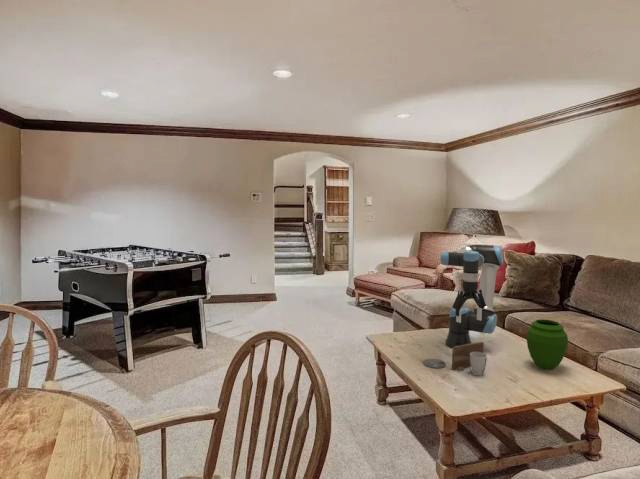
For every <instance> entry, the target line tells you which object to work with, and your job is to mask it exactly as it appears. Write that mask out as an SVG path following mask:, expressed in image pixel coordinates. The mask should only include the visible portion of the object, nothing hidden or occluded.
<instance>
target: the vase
mask: <svg viewBox="0 0 640 479" xmlns="http://www.w3.org/2000/svg"><path fill="white" fill-rule="evenodd" d="M525 336H526V337H525V338H526V344H527V349H528V353H529V356H530V358H531V360H532V361H533V362H534V364H535V366H536V367H538V368H540V369H542V370H548V371H550V370H551V371H552V370H555V369H556V368H557V367H558V366H559V365H560V364H561V363H562V361H563V359H564V357H565V356H566V353H567V350H568V349H567V348H568V345H569V338H568V333H567V332H566V331H565V330H564V326H563V325H562V324H560V323H559V322H558V321H556V320H550V319H537V320H534V321H533V322H531V326H529V327H528V329H527V331H526V335H525Z"/></svg>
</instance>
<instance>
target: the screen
mask: <svg viewBox="0 0 640 479" xmlns="http://www.w3.org/2000/svg"><path fill="white" fill-rule="evenodd" d="M484 344H485V343H484V342H483V341H476V342H471V343H470V344H465V345H460V346H455V347H452V348H451V349H452V351H451V352H452V356H451V367H450V368H451V370H453V371H458V372H463V371H465V369H467V368H471V364H470V353H471V352H481V353H484V348H485V347H484V346H485V345H484Z"/></svg>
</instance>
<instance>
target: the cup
mask: <svg viewBox="0 0 640 479" xmlns="http://www.w3.org/2000/svg"><path fill="white" fill-rule="evenodd" d="M487 358H488V355H487V354H486V353H484V352H483V353H481V352H471V353H470V364H471V367H470V370H471V372H472V374H473V375H475V376H479V377H480V376H481V377H482V376H483V375H484V373H485V370H486V365H487V360H488V359H487Z"/></svg>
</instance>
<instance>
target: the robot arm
mask: <svg viewBox="0 0 640 479" xmlns="http://www.w3.org/2000/svg"><path fill="white" fill-rule="evenodd" d="M439 259H440V260H439V261H440V263H441V265H442V266H446V267H449V266H453V267H462V269H463V270H462V280H463V281H462V289H463V290H460V289H458V290H457V295H456V297H455V300H454V302H453V305H452V307H451V309H450V310H449V316H448V318H449V319H448V321H449V322H448V334H447V336H446V340H445V345H446V346H447V347H449V348H451V349H452V347H455V346H460V345H465V344H470V343H472V341H471V337H470V332H476V333H482V334H487V335H488V334H493V333H494V331H495V329H496V326H497V324H498V323H497V322H498V315H497V314H496V313H495V312H496V311H495V310H494V308H493V307H494V296H495V291H496V290H495V288H496V279H497V272H498V270H499V269H500V267H501V266H502V265H504V253H503V249H502V246H501V245H492V244H491V245H490V244H489V245H488V244H471V245H470V244H469V245H466V246H462V247H461V248H460V249H458V250H455V251H454V250H453V251H452V252H451V251H450V252H448V251H443V252H441V255H440V258H439ZM480 268H481V271H480V281H479V269H480ZM470 299H471V300H473V301H474V302H475V303H476V306H475V307H474V309H473V311H471V310H470V307H465V306H464V304H465V303H466V302H467V301H468V300H470ZM463 306H464V307H463Z"/></svg>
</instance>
